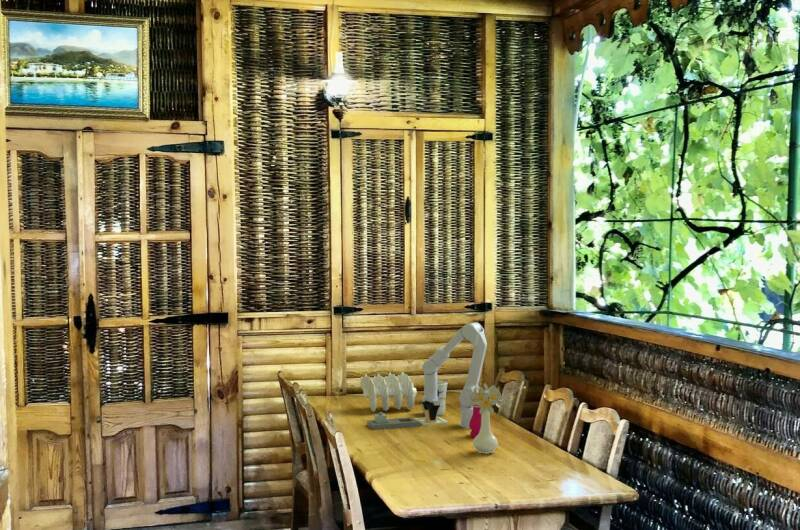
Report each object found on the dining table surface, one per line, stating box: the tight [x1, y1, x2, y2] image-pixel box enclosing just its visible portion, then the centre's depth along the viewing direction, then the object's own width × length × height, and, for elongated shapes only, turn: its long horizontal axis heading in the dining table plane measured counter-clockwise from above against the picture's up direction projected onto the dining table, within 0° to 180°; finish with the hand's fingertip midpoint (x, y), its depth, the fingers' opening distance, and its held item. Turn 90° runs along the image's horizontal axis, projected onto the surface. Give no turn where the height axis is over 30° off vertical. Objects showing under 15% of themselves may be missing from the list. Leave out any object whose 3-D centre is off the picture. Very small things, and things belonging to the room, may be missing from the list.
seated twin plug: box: [374, 411, 388, 424], centre depth 361 cm, size 4×4×6 cm
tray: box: [413, 416, 449, 427], centre depth 371 cm, size 12×12×1 cm
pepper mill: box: [469, 386, 482, 438], centre depth 345 cm, size 7×7×20 cm
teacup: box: [421, 397, 446, 417], centre depth 388 cm, size 14×11×8 cm
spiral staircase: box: [359, 371, 418, 413], centre depth 398 cm, size 18×18×25 cm
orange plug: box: [424, 410, 438, 423], centre depth 371 cm, size 4×4×6 cm
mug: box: [437, 380, 449, 399], centre depth 420 cm, size 10×15×10 cm
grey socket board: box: [366, 416, 420, 431], centre depth 363 cm, size 10×20×2 cm, turn 109°
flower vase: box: [469, 382, 505, 455], centre depth 318 cm, size 13×18×25 cm
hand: (430, 419), depth 371 cm, fingers closed on orange plug, 4 cm apart
